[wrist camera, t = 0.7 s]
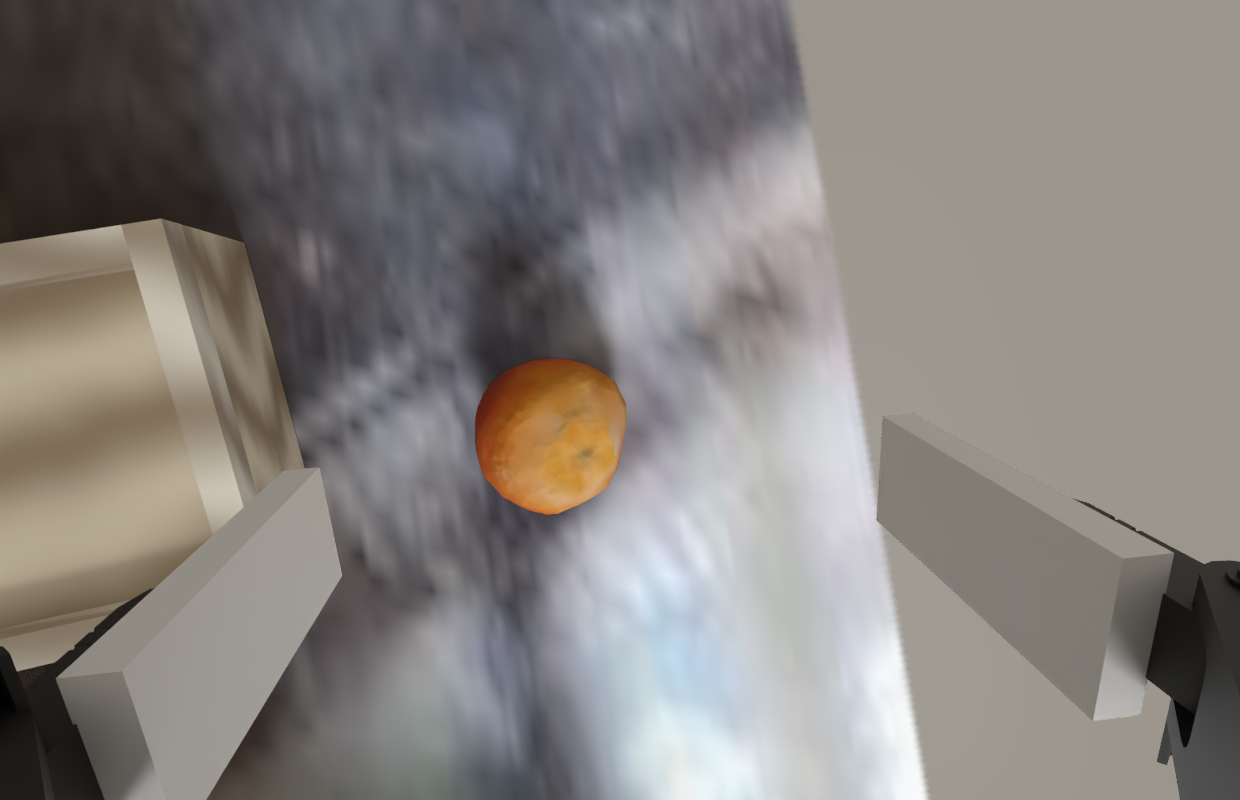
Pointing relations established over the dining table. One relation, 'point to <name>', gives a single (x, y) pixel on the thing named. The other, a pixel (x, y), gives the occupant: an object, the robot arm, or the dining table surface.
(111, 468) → the square tray
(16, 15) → the dining table surface
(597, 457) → the fruit
